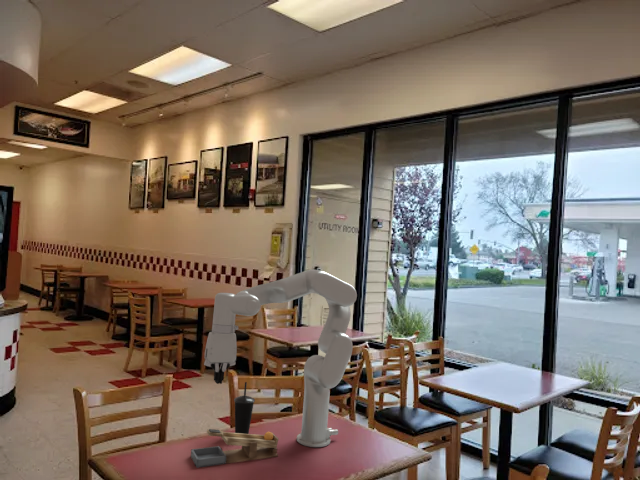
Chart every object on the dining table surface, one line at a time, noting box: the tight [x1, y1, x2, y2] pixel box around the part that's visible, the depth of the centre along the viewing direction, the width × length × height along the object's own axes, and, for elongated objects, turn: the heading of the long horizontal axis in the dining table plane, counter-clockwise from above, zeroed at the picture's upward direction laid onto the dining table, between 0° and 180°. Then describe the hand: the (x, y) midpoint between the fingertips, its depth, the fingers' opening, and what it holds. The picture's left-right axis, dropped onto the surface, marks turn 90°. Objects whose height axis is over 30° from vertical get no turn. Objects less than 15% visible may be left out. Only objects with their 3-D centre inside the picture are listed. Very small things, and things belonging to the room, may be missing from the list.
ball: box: [263, 431, 274, 440], centre depth 171 cm, size 3×3×3 cm
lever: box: [206, 428, 279, 449], centre depth 169 cm, size 22×10×3 cm, turn 117°
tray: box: [190, 445, 227, 469], centre depth 161 cm, size 9×8×2 cm
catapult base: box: [222, 442, 279, 464], centre depth 167 cm, size 18×8×6 cm, turn 117°
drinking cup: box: [233, 381, 256, 434], centre depth 184 cm, size 8×8×20 cm
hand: (218, 382), depth 168 cm, fingers closed
